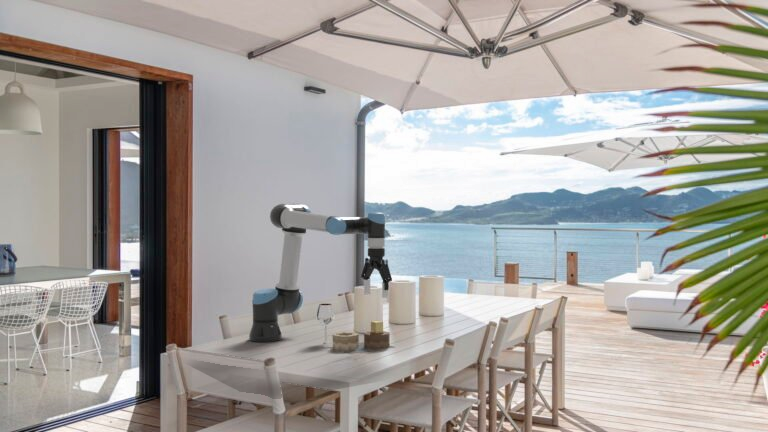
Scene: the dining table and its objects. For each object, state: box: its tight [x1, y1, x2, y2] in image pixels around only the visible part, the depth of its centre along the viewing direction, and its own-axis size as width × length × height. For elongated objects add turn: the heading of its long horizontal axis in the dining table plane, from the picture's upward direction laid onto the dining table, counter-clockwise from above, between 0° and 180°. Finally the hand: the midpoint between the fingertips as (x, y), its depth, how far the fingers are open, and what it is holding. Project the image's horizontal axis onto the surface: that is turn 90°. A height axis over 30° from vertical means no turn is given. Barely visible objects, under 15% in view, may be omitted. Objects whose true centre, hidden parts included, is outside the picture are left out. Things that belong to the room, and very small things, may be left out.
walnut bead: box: [363, 330, 391, 350], centre depth 293 cm, size 11×11×6 cm
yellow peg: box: [370, 320, 384, 334], centre depth 293 cm, size 4×4×11 cm
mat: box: [327, 341, 395, 355], centre depth 292 cm, size 24×18×1 cm
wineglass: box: [316, 303, 336, 344], centre depth 304 cm, size 8×8×18 cm
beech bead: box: [332, 331, 360, 351], centre depth 291 cm, size 11×11×6 cm
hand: (376, 295), depth 294 cm, fingers open, 13 cm apart
